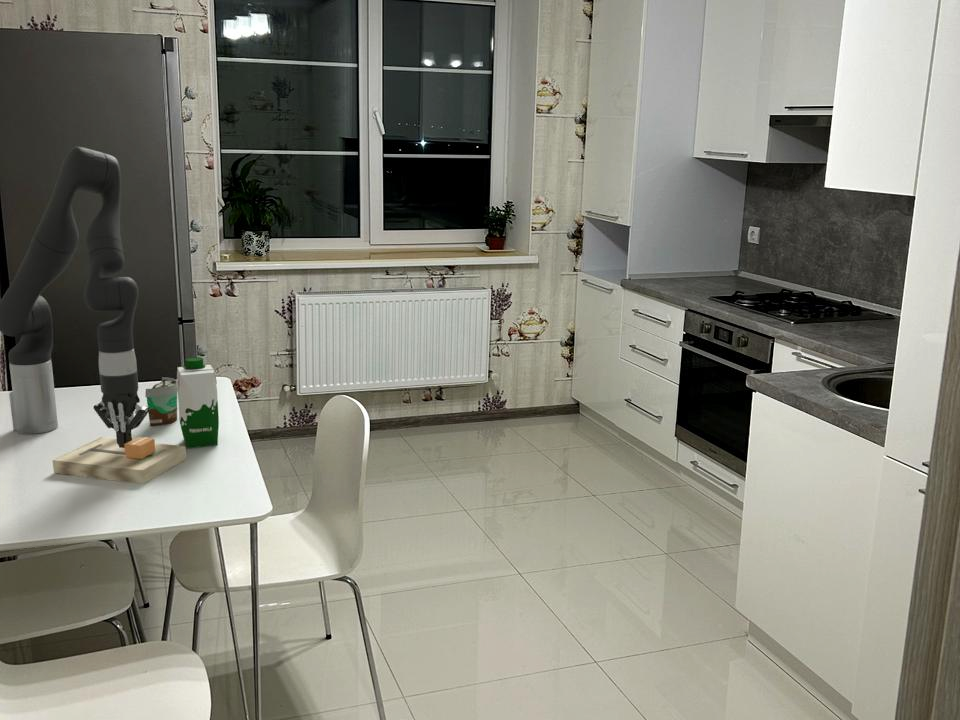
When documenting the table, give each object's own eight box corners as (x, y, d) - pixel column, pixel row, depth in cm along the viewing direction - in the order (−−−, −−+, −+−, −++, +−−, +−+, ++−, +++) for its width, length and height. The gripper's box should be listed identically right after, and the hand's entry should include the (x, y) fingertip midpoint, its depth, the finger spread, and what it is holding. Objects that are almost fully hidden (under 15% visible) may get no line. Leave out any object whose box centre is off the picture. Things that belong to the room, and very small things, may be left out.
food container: (172, 428, 227) (169, 389, 225) (147, 427, 227) (144, 389, 225) (188, 413, 239) (186, 377, 237) (165, 413, 239) (162, 376, 237)
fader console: (53, 473, 196) (52, 459, 195) (101, 449, 211) (100, 436, 210) (143, 483, 190) (142, 469, 190) (186, 458, 206) (185, 445, 205)
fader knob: (125, 457, 197) (124, 443, 196) (139, 449, 202) (138, 436, 201) (141, 458, 196) (140, 445, 195) (155, 451, 201) (154, 438, 200)
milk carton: (216, 434, 222) (212, 355, 218) (222, 446, 214) (217, 363, 210) (179, 439, 219) (173, 358, 214) (183, 450, 211) (177, 367, 206)
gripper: (155, 368, 197) (161, 444, 201) (102, 364, 200) (109, 438, 204) (134, 376, 190) (140, 455, 194) (80, 372, 193) (87, 449, 197)
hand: (124, 446), depth 199 cm, fingers closed
